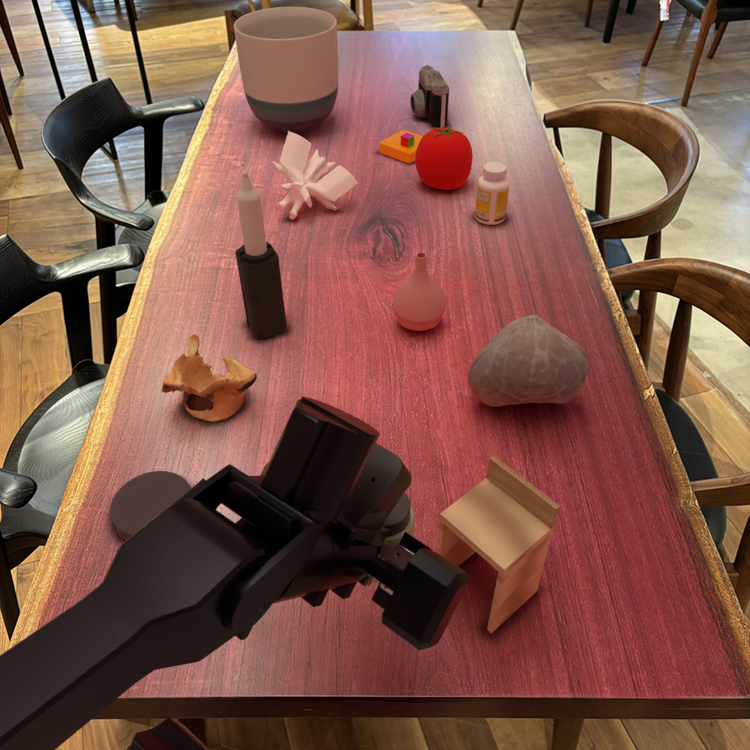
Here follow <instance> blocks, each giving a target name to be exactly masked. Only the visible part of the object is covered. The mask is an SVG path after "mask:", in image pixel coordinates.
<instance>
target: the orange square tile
mask: <svg viewBox="0 0 750 750" xmlns="http://www.w3.org/2000/svg"><path fill="white" fill-rule="evenodd" d="M423 136H424V135H421V134H418V133H414V132H412V131H409V130H406V129H402V130H399V131H398V132H396V133H394V134H392V135H390V136H388V137H387V138H385V139H383V140H382V141H380V142H378V143H379V144H378V152H379V154H381V155H384V156H387V157H390V158H392V159H394V160H395V159H396V160H398V161H401V162H403V163H405V164H409V165H411V164H412V163H415V154H416V150H417V147H418V145H419V142H420V140H421V139H422V137H423Z"/></svg>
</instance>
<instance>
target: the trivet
mask: <svg viewBox="0 0 750 750" xmlns="http://www.w3.org/2000/svg"><path fill="white" fill-rule="evenodd" d="M190 489H192V487H191V485H190V484H189V482H188V481H187V480H186V478H184V477H183V476H181V475H180V474H178V473H175V472H172V471H169V470H168V471H167V470H154V471H153V470H152V471H149V472H145V473H142V474H139V475H137V476H135V477H133V478H131V479H129V480H128V481H126V482H125V483H124V484H122V486H121V487H120V488H119V489H118V491H116V493H115V494H114V496H113V497H112V499H111V503H110V508H109V514H110V519H111V521H112V524H113V527H114V528H115V530H116V533H117V534H118V536H119V537H120V538H121V539H123V540H124V542H125V541H126V540H127V539H128V538H130V537H131V536H132V535H133V534H135V533H136V532H137V531H138V530H140V529H141V528H142V527H143V526H145V525H146V524H147V523H148V522H150V521H151V520H152V519H153V518H154V517H156V516H157V515H158V514H159V513H160V512H162V511H163V510H165V509H166V508H168V507H169V506H170V505H172V504H173V503H175V502H176V501H177V500H179V499H180V498H181V497H183V496H184V495H185V494H186V493H187V492H188V491H189V490H190Z"/></svg>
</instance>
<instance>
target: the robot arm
mask: <svg viewBox="0 0 750 750" xmlns="http://www.w3.org/2000/svg"><path fill="white" fill-rule="evenodd" d="M380 435H381V433H380V431H378V430H377V429H376V428H375V427H374V426H372V425H370V424H369V423H367V422H366V421H364V420H362V419H361V418H359V417H357V416H355V415H353V414H351V413H349V412H347V411H344V410H342V409H340V408H338V407H335V406H334V405H331V404H328V403H326V402H323V401H321V400H318V399H315V398H312V397H308V396H301V398H298V399H297V400H296V402H295V405H294V407H293V409H292V411H291V413H290V415H289V418H288V420H287V422H286V423H285V426H284V428H283V431H282V432H281V435H280V437H279V438H278V441H277V444H276V445H275V448H274V449H273V452H272V454H271V457H270V458H269V461H268V462H267V463H266V464H265V465H264V467H263V469H262V471H261V473H260V475H248V474H246V473H245V472H244V471H242V470H240V469H239V468H237V467H236V466H234V465H232V464H230V463H229V464H227V465H226V466H224V467H223V468H221V469H219V471H217V472H216V473H214V474H213V475H212V476H209V478H207V479H205V478H202V479H200V480H199V481H198V482H197V483H196V484H195V485H194V486H192V487H191V489H190V490H189V491H188V492H187V493H186V494H185V495H184V496H183V497H181V498H180V499H179V500H177V501H176V502H175V503H173V504H172V505H170V506H169V507H168V508H166V509H165V510H163V511H162V512H160V513H159V514H158V515H157V516H156V517H154V518H153V519H152V520H151V521H150V522H148V523H147V524H146V525H145V526H143V527H142V528H141V529H140V530H138V531H137V532H136V533H135V534H133V535H132V536H131V537H130V538H128V539H127V540H126V541H125V540H124V541H123V542H122V543H121V544H120V545H119V547H118V548H117V550H116V552H115V555H114V556H113V558H112V560H111V563H110V564H109V567H108V569H107V571H106V573H105V575H104V577H103V579H102V582H101V583H100V584H99V585H97V586H96V587H95V588H94V589H92V591H90V592H89V593H87V594H86V595H85V596H84V597H83V598H82V599H80V600H79V601H78V602H76V603H75V604H73V605H72V606H70V607H69V608H67V609H66V610H64V611H63V612H61V613H60V614H59V615H57V616H56V617H54V618H53V619H51V620H49V621H48V622H47V623H45V624H44V625H42V626H41V627H40V628H37V629H36V630H35V631H33V632H32V633H31V634H29V635H28V636H27V637H25V638H23V639H22V640H20V641H19V642H17V643H16V644H14V645H13V646H11V647H10V648H8V649H7V650H5V651H4V652H3V653H1V654H0V750H57V749H58V748H59V747H60V746H62V745H63V744H64V743H65V742H66V741H68V740H69V739H70V738H71V737H73V736H74V735H75V734H76V733H77V732H78V731H80V730H81V729H82V728H83V727H85V726H86V725H87V724H88V723H90V722H91V721H92V720H93V719H94V718H95V717H97V716H98V715H99V714H100V713H102V712H103V711H104V710H105V709H107V708H108V707H109V706H110V705H111V704H112V703H114V702H115V701H117V700H118V699H119V698H120V697H121V696H123V694H125V693H126V692H127V691H128V690H129V689H130V688H132V687H133V686H134V685H135V684H137V683H138V682H140V681H141V680H143V679H144V678H145V677H147V676H148V675H150V674H152V673H153V672H154V671H156V670H163V669H169V668H173V667H178V666H179V667H180V666H184V665H189V664H194V663H195V664H196V663H198V662H201V661H202V660H204V659H205V658H207V657H208V656H209V655H211V654H212V653H214V652H215V651H216V650H218V649H219V648H221V647H222V646H223V645H225V644H227V642H229V641H230V640H231V639H234V637H236V638H237V639H238V640H240V641H245V640H246V639H247V638H248V637H249V635H250V634H251V631H252V629H253V627H254V626H255V625H257V623H258V622H259V621H260V620H261V619H262V618H263V617H264V615H265V614H266V613H267V612H268V610H269V609H270V608H271V607H272V605H274V604H278V603H282V602H286V601H291V600H293V599H299V598H301V600H303V601H305V602H306V603H307V604H309V605H310V606H311V607H313V608H317V607H320V606H322V604H323V603H324V601H325V599H326V596H328V593H329V591H331V592H332V593H334V594H335V595H336V596H338V597H339V598H341V600H345V599H349V598H351V595H352V593H353V591H354V590H355V587H356V586H357V583H359V584H360V585H361V586H363V587H369V586H371V584H372V583H373V582H372V580H373V577H374V578H375V579H377V580H378V581H379V582H380V583H378V584H377V587H376V589H375V590H374V593H373V595H372V597H371V599H370V600H371V601H372V602H373V603H375V604H376V605H378V606H379V607H380V608H382V609H383V611H382V614H381V624H382V625H384V626H385V627H386V628H388V629H389V630H390V631H392V632H393V633H395V634H396V635H397V636H399V637H400V638H401V639H403V640H404V641H405V642H407V643H408V644H410V645H411V646H412V647H413V648H415V649H416V650H418V651H422V650H426V649H430V648H432V647H434V646H436V645H438V644H439V643H440V641H441V639H442V638H443V635H444V633H445V631H446V629H447V628H448V625H449V624H450V621H451V619H452V618H453V615H454V614H455V611H456V609H457V608H458V606H459V603H460V602H461V600H462V598H463V596H464V594H465V592H466V590H467V588H468V586H469V584H470V579H469V577H468V574H467V571H466V570H464V569H463V568H462V567H460V566H457V565H455V564H454V563H452V562H450V561H449V560H447V559H446V558H444V557H443V556H441V555H440V554H438V553H437V551H434V550H433V549H432V548H431V547H430V546H429V545H427V544H425V543H423V542H422V541H421V540H419V539H418V538H416V537H415V536H414V535H413V536H411V535H410V534H408V533H407V532H405V533H404V535H403V537H402V539H401V541H400V543H399V545H395V546H393V547H392V548H390V547H388V546H387V545H385V544H384V541H385V539H386V537H387V535H388V533H389V531H390V530H389V529H387V528H386V527H384V526H383V524H384V522H385V520H386V518H387V517H388V516H389V514H390V513H391V511H392V510H393V508H394V507H395V505H396V504H397V502H398V501H399V499H400V498H401V496H402V495H403V493H404V492H405V493H406V491H408V489H409V487H410V486H411V483H412V481H413V480H412V479H413V478H412V477H413V476H412V474H411V472H410V471H409V469H408V467H407V466H406V465H405V463H404V462H403V461H402V459H401V458H400V457H399V456H398V455H397V454H395V453H394V452H392V451H391V450H389V449H387V448H385V447H384V446H382V445H380V444H379V443H377V441H378V439H379V437H380ZM221 505H222V506H223V507H226V508H227V509H228V510H230V511H231V512H232V513H234V514H236V515H237V516H238V517H240V518H239V519H238V520H237V521H233V520H231V519H230V518H229V517H227V516H226V515H224V514H223V513H222V512H220V511H219V510H217V509H218V508H219V507H220V506H221ZM379 555H380V557H378V556H379ZM383 558H384V560H383ZM369 574H370V576H369ZM126 750H211V749H210V748H209V747H208V746H207V745H206V744H205V743H204V742H202V740H200V738H198V737H197V736H196V735H195V734H194V733H193V732H192V731H191V730H190V729H188V728H187V727H186V726H185V724H182V723H181V722H180V721H175V720H173V718H171V717H170V716H169V717H167V718H166V719H164V720H163V721H162V722H160V723H158V724H157V725H155V726H154V727H152V728H149V729H145V730H142V731H138V732H136V733H135V735H134V736H133V738H132V740H131V742H130V745H128V747H127V748H126Z"/></svg>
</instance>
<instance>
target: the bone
mask: <svg viewBox="0 0 750 750" xmlns="http://www.w3.org/2000/svg"><path fill="white" fill-rule="evenodd" d="M186 340H187V355H186V354H185V353H181V354H180V356H178V357H177V359H176V360H175V361H174V363H173V367H172V368H171V371H170V372H169V373H168V374H165V375H164V379H163V381H162V387H161V393H165V394H167V393H171V392H172V393H174V392H177V391H178V392H182V393H183V396H182V403H183V406H184V409H185V411H186V412H187V414H190V415H192V417H193V418H195V419H196V420H200V421H205V424H208V422H209V423H217V422H222V421H225V420H228V419H230V418H231V417H233V416H235V415H236V414H237V413H238V412H240V411H241V410H242V409H243V408H244V407H245V404H246V402H247V398H246V397H247V395H246V394H245V390H248V389H249V388H251V387H252V386H253V385H254V383H256V381H257V379H258V376H257V374H258V373H256V372H255V371H252V370H251V369H249V368H247V367H246V366H245V365H244V364H243V363H241V362H240V361H238V360H236V359H235V358H233V357H223V358H222V361H223V362H224V365H225V369H226V371H227V372H225V375H217V374H213V373H212V370H211V369H212V367H213V365H211V364H207V363H206V362H204V360H203V359H204V358H203V356H202V355H200V352H199V348H200V345H201V344H200V337H199V336H198V335H197V334H195V333H194V334H192V335H190V336H188V337H187V338H186ZM190 394H193V395H196V396H199V397H200V398H207V400H210V402H212V403H213V404H212V405H213V409H209V408H206V410H193V409H191V408H189V405H188V404H187V403H186V402H187V401H188V396H189V395H190Z"/></svg>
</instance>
